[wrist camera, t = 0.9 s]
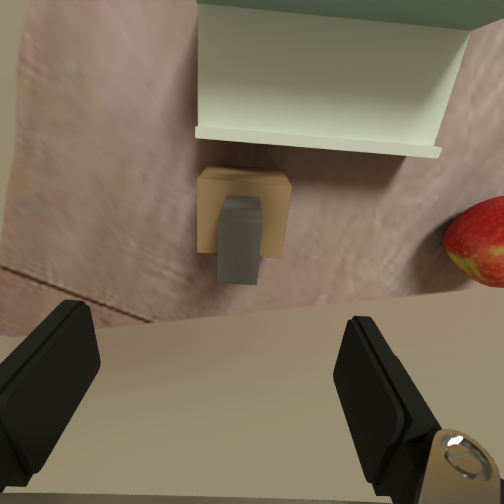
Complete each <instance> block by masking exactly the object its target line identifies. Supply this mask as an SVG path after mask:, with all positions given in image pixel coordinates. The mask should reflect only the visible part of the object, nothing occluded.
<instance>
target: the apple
mask: <svg viewBox="0 0 504 504" xmlns="http://www.w3.org/2000/svg"><path fill="white" fill-rule="evenodd" d="M443 243H444V247H445V249H446V251H447V253H448V255H449V256H450V258H451V259H452V261H453V262H454V263H455V264H456V266H457V267H458V268H459V269H460V270H462V271H463V272H464V273H465V274H467V275H468V276H469V277H470V278H472V279H474V280H475V281H477V282H479V283H481V284H484V285H487V286H491V287H498V288H504V196H500V197H495V198H492V199H488V200H486V201H483V202H480V203H478V204H476V205H474V206H472V207H470V208H469V209H467V210H466V211H464V212H463V213H462V214H461V215H459V216H458V217H457V218H456V219H455V220H454V221H453V222H452V224H451V225H450V226H449V228H448V229H447V231H446V233H445V236H444V240H443Z"/></svg>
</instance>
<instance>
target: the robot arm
mask: <svg viewBox="0 0 504 504" xmlns="http://www.w3.org/2000/svg"><path fill="white" fill-rule="evenodd" d="M100 363H101V361H100V355H99V350H98V345H97V340H96V335H95V330H94V325H93V320H92V316H91V311H90V307H89V306H88V305H85V302H84V301H79V300H64V301H62V302H61V303H60V304H59V305H58V306H57V307H56V308H55V309H54V310H53V311H52V312H51V313H50V314H49V315H48V316H47V317H46V318H45V319H44V320H43V321H42V322H41V323H40V324H39V325H38V326H37V327H36V328H35V329H34V330H33V331H32V332H31V333H30V335H29V336H28V337H27V338H26V339H25V340H24V341H23V342H22V343H21V344H20V345H19V346H18V347H17V348H16V349H15V350H14V351H13V352H12V353H11V354H10V355H9V356H8V357H7V358H6V359H5V360H4V361H3V362H2V363H1V364H0V504H390V503H375V502H374V503H373V502H355V501H335V500H307V499H305V500H304V499H274V498H242V497H241V498H240V497H204V496H201V497H200V496H163V495H119V494H117V495H115V494H66V493H2V492H3V490H4V489H5V487H6V486H18V487H26V486H27V484H28V482H29V480H30V479H31V477H32V475H33V474H36V473H38V472H39V471H40V470H41V469H42V467H43V465H44V464H45V462H46V460H47V459H48V457H49V455H50V454H51V452H52V450H53V448H54V447H55V445H56V443H57V442H58V440H59V438H60V436H61V435H62V433H63V431H64V429H65V428H66V426H67V424H68V423H69V421H70V419H71V417H72V416H73V414H74V412H75V411H76V409H77V407H78V405H79V404H80V402H81V400H82V398H83V397H84V395H85V393H86V392H87V389H88V388H89V386H90V385H91V383H92V381H93V380H94V378H95V376H96V374H97V373H98V370H99V368H100ZM333 379H334V383H335V386H336V389H337V393H338V395H339V399H340V402H341V405H342V408H343V411H344V414H345V417H346V420H347V423H348V427H349V430H350V433H351V436H352V439H353V441H354V445H355V448H356V451H357V454H358V457H359V460H360V464H361V467H362V469H363V473H364V476H365V478H366V480H367V482H368V483H372V485H373V488H374V491H375V494H376V496H390V497H391V499H392V502H393V504H504V480H503V479H501V478H500V473H499V469H498V467H497V465H496V463H495V461H494V459H493V458H492V457H491V455H490V454H489V453H488V451H487V450H486V449H485V448H484V447H482V446H481V445H480V444H479V443H478V442H477V441H475V440H474V439H472V438H471V437H470V436H468V435H466V434H464V433H462V432H460V431H456V430H452V429H442V428H441V426H440V425H439V423H438V422H437V420H436V418H435V417H434V415H433V414H432V412H431V410H430V409H429V407H428V405H427V404H426V402H425V401H424V399H423V397H422V396H421V394H420V392H419V391H418V389H417V388H416V386H415V384H414V383H413V381H412V380H411V378H410V376H409V375H408V373H407V371H406V370H405V368H404V367H403V365H402V364H401V362H400V360H399V359H398V358H397V356H395V355H394V354H393V352H392V350H391V349H390V347H389V345H388V344H387V342H386V340H385V339H384V337H383V336H382V334H381V332H380V331H379V329H378V327H377V326H376V324H375V322H374V321H373V319H372V318H371V317H366V316H354V317H353V318H352V320H348V322H347V325H346V328H345V332H344V336H343V339H342V343H341V346H340V350H339V354H338V358H337V361H336V364H335V368H334V372H333Z"/></svg>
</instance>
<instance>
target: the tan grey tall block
mask: <svg viewBox="0 0 504 504" xmlns="http://www.w3.org/2000/svg"><path fill="white" fill-rule="evenodd" d="M291 189H292V186H291V184H290V182H289V180H288V179H287V177H286V175H285V173H284V171H283V170H277V169H264V168H252V167H239V166H227V165H215V164H209V165H208V167H207V168H206V169H205V170H204V171H203V172H202V173H201V175H200V176H199V177H198V178H197V253H211V254H217V282H218V283H233V284H247V285H257V278H258V268H259V258H260V257H267V258H281V259H282V254H283V247H284V239H285V232H286V225H287V218H288V210H289V203H290V196H291Z"/></svg>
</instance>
